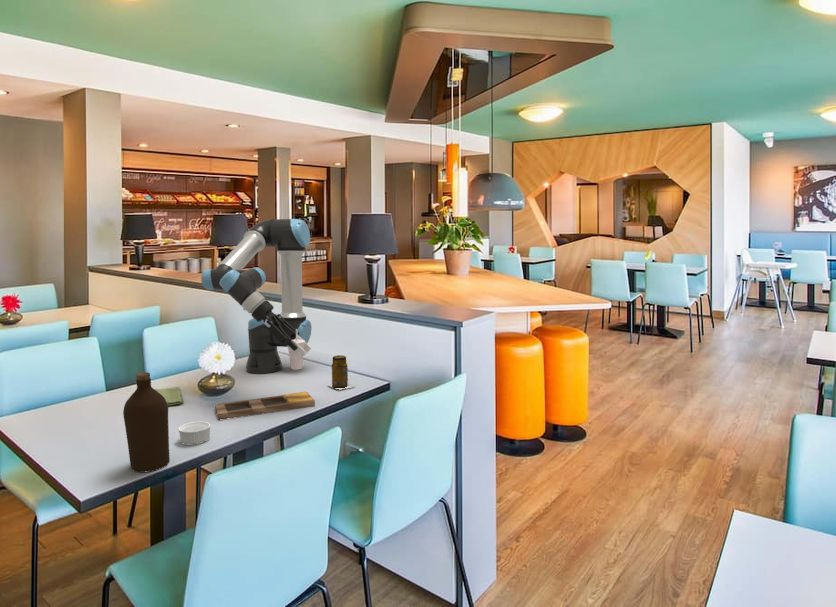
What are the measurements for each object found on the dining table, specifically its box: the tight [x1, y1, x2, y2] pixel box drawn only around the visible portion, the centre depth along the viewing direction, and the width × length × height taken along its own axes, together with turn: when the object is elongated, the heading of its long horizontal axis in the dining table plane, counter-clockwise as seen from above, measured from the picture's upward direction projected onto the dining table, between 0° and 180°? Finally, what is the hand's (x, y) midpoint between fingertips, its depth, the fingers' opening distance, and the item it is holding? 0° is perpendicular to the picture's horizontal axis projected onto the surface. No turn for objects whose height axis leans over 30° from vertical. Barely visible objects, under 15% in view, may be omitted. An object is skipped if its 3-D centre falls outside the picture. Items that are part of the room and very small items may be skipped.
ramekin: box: [177, 421, 211, 445], centre depth 167 cm, size 9×9×4 cm
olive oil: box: [122, 371, 170, 473], centre depth 148 cm, size 11×11×25 cm
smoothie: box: [287, 329, 305, 370], centre depth 197 cm, size 6×6×14 cm
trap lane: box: [214, 391, 316, 421], centre depth 195 cm, size 11×32×2 cm, turn 115°
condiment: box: [331, 354, 349, 391], centre depth 218 cm, size 7×8×12 cm
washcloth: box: [153, 387, 185, 407], centre depth 203 cm, size 13×18×3 cm
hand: (306, 353), depth 197 cm, fingers closed on smoothie, 6 cm apart
